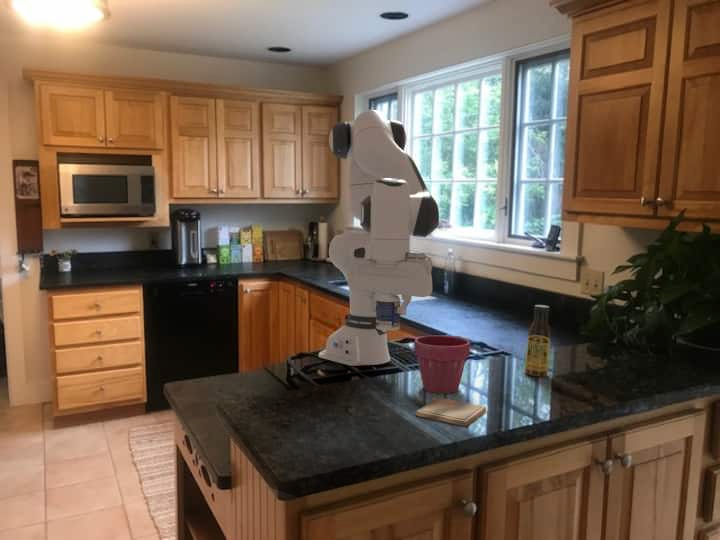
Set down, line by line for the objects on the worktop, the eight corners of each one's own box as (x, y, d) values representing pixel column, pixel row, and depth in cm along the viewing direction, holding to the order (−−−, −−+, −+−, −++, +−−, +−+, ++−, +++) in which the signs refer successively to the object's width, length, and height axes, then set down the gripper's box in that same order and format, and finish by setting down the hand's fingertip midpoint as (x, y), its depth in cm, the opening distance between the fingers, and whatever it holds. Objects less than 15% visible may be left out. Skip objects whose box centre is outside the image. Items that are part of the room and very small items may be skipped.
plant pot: (436, 377, 166) (437, 332, 165) (479, 389, 156) (481, 340, 155) (402, 387, 156) (403, 339, 155) (445, 400, 146) (447, 349, 145)
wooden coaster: (416, 415, 136) (416, 410, 135) (438, 401, 146) (438, 396, 146) (466, 426, 129) (466, 421, 129) (485, 411, 139) (486, 406, 139)
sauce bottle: (523, 376, 169) (526, 306, 167) (526, 370, 175) (529, 303, 173) (547, 379, 167) (551, 308, 165) (549, 373, 173) (553, 305, 170)
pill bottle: (397, 331, 132) (399, 287, 131) (374, 330, 133) (374, 286, 132) (401, 327, 138) (402, 284, 137) (378, 325, 139) (379, 283, 138)
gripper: (438, 253, 131) (436, 316, 132) (359, 248, 142) (358, 306, 143) (425, 255, 126) (423, 320, 127) (344, 249, 136) (343, 310, 138)
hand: (388, 313), depth 135 cm, fingers closed on pill bottle, 5 cm apart
